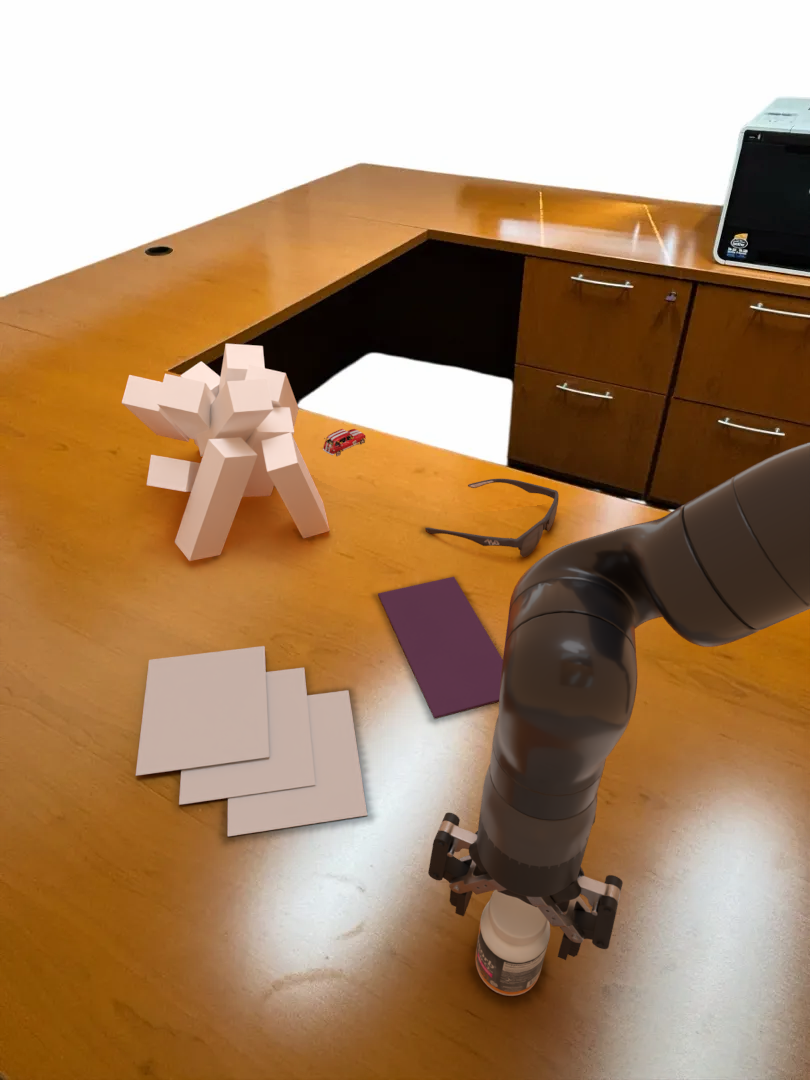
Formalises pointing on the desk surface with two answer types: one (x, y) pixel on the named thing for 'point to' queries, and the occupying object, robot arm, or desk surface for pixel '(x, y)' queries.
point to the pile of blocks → (227, 445)
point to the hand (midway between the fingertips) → (513, 925)
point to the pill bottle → (511, 944)
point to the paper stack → (251, 740)
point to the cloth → (445, 646)
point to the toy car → (342, 441)
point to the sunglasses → (526, 540)
